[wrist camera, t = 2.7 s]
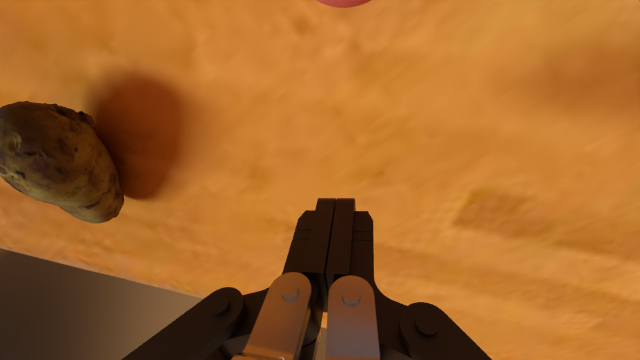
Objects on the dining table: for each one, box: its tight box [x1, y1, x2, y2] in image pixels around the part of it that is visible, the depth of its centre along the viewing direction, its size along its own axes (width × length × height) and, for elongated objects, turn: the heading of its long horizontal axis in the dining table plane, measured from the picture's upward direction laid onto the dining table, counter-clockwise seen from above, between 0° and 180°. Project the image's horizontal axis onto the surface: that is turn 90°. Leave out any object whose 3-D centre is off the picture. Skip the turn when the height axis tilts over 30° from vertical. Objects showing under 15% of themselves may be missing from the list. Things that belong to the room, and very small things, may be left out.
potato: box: [0, 101, 124, 223], centre depth 23 cm, size 8×13×8 cm, turn 144°
